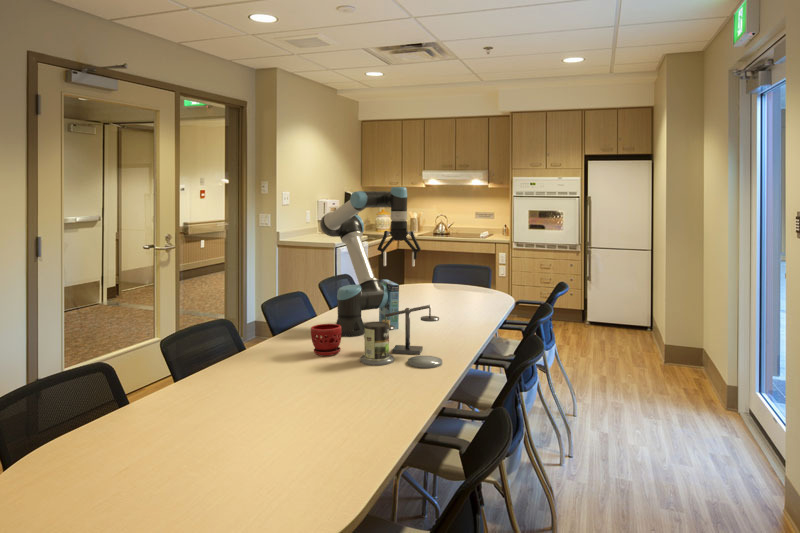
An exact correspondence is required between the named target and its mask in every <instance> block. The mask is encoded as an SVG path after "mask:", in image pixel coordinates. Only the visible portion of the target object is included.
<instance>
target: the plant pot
mask: <svg viewBox="0 0 800 533" xmlns="http://www.w3.org/2000/svg"><path fill="white" fill-rule="evenodd" d="M310 337H311V342H312V345H313V347H314V348H313V352H314V354H316V355H318V356H325V357H328V356H336V355H337V354H339V353H340V352H341V347H340V344H341V341H342V336H341V326H340V325H338V324H336V323H320V324H316V325H313V326H311V327H310ZM335 354H336V355H335Z"/></svg>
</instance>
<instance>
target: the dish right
mask: <svg viewBox="0 0 800 533" xmlns="http://www.w3.org/2000/svg"><path fill="white" fill-rule="evenodd" d="M407 365H408V366H410V367H412V366H413V368H416V367H417V368H418V369H435V368H438V367H441V366H442V365H443V359H442V358H441V357H438V356H435V355H434V356H433V355H416V356H411V357H409V358H408V359H407ZM417 368H416V369H417Z"/></svg>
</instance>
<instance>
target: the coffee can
mask: <svg viewBox="0 0 800 533" xmlns="http://www.w3.org/2000/svg"><path fill="white" fill-rule="evenodd" d="M363 324H364V334H363V335H364V355H365V357H364V358H365V359H366V360H370V361H382V360H386V359H388V358H389V355H390V331H389V324H388V323H386V322H379V321H369V322H365V323H363Z"/></svg>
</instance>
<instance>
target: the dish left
mask: <svg viewBox="0 0 800 533" xmlns="http://www.w3.org/2000/svg"><path fill="white" fill-rule="evenodd" d="M364 357H365V354H363V355H361V356H360V357H359V362H360V363H361V364H363V365H366V366H373V365H375V366H378V367H379V366H386V365H390V364H393V363H394V362H395V356H394V355H392V354H389V358H388V359H386V360H382V361H370V360H366V359H365V358H364Z"/></svg>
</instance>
